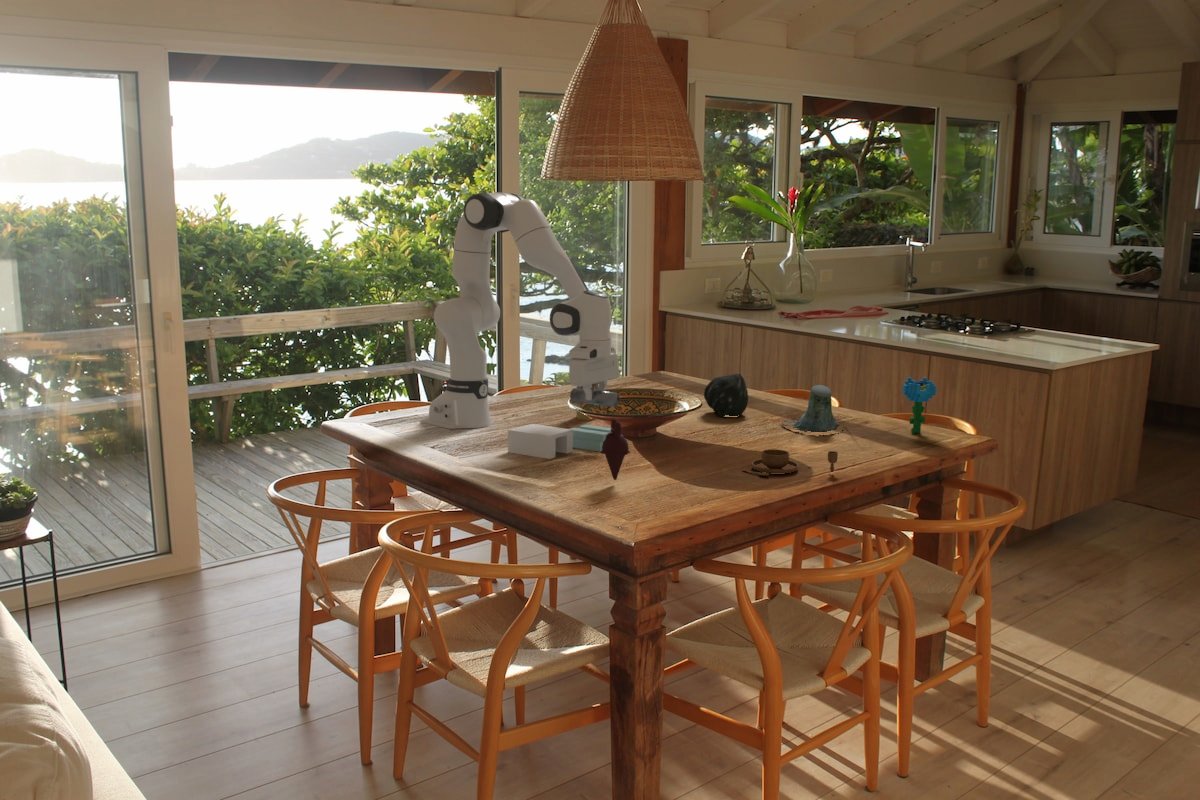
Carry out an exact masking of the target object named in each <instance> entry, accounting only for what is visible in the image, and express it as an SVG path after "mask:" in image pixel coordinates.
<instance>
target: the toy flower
mask: <svg viewBox="0 0 1200 800" xmlns="http://www.w3.org/2000/svg"><path fill="white" fill-rule="evenodd" d="M901 391H902V394H903V395H904V396H905V398H907V399H908V401H910V402H914V405H912V406H911V410H912V411H911V413H912V415H913V417H912V416H911V417H909V422H908V424H909V425H912V427H911V429H910V434H911V433H912V434H911V435H915V433H920V434H921V430H922V424H925V423H926V416H925V415H922V414H923V413H924V410H925V406H924V405H923V403H925V402H930V401H929V400H930V399H933V396H936V393H937V385H935V383H933V380H928V378H927V377H922V379H919V380H918V381H917V380H914V379H912V377H909V376H908V377H907V380H905V381H904V384H903V385H902V387H901Z"/></svg>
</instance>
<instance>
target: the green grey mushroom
mask: <svg viewBox="0 0 1200 800" xmlns="http://www.w3.org/2000/svg"><path fill="white" fill-rule="evenodd" d="M832 410H833V409H832V390H831V389H830V387H828V386H826V385H823V384H816V385H812V387H811V389H810V393H809V399H808V404H807V409H805V412H804V413H803V414H802V415H801V417H800V418H799V419H800V420H799V421H797V420H796V421H795V420H792V421H790V422H789V420H790V419H784V420H783V421H784V422H787V421H788V423H789V424H790V423H795V424H794V425H792V426H794V427H793V428H797V429H795V430H800V431H804V432H807V431H811V432H827V431H831V430H836V429H837V427H838V426H840V424H839V425H838V424H837V423H838V422H837V421H836V417H835V416H834V414H833V411H832ZM782 425H783V426H788V425H787V424H783V422H781V426H782Z"/></svg>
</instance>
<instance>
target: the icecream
mask: <svg viewBox="0 0 1200 800" xmlns="http://www.w3.org/2000/svg"><path fill="white" fill-rule="evenodd" d="M610 428H611V432H612V433H609V434H607V435H606V439H605V440H604V441H603V445H602V451H601V452H599V454H602V455H604V456H605V458H606V462H607V464H608V467H609V469H610V474H611V475H612V480H613V481H616V480H617V478H618V475H619V473H620V469H621V467H622V465H623V461H624V458H625V456H626V455H628V454H630V453H631V451H630V450H629V442H628V440H627V439H626V437H625V436H624V435H623V434H622V424H621V422H619V420H617V418H612V419H611V422H610ZM620 434H621V435H620ZM622 435H623V436H622Z"/></svg>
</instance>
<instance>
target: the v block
mask: <svg viewBox="0 0 1200 800" xmlns="http://www.w3.org/2000/svg"><path fill="white" fill-rule="evenodd" d="M570 429H572V430H573V449H574V448H575V449H581V450H586V451H587V450H589V451H594V452H599V453H600V452H601V451H602V445H603V441H604V440H605V439H606V435H607V434H609V433H612V432H611V427H606V426H598V425H591V424H585V423H584V424H582V425H579V426H578V427H572V428H570ZM620 435H622V436H624V435H623V434H622V433H621V434H620Z"/></svg>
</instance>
